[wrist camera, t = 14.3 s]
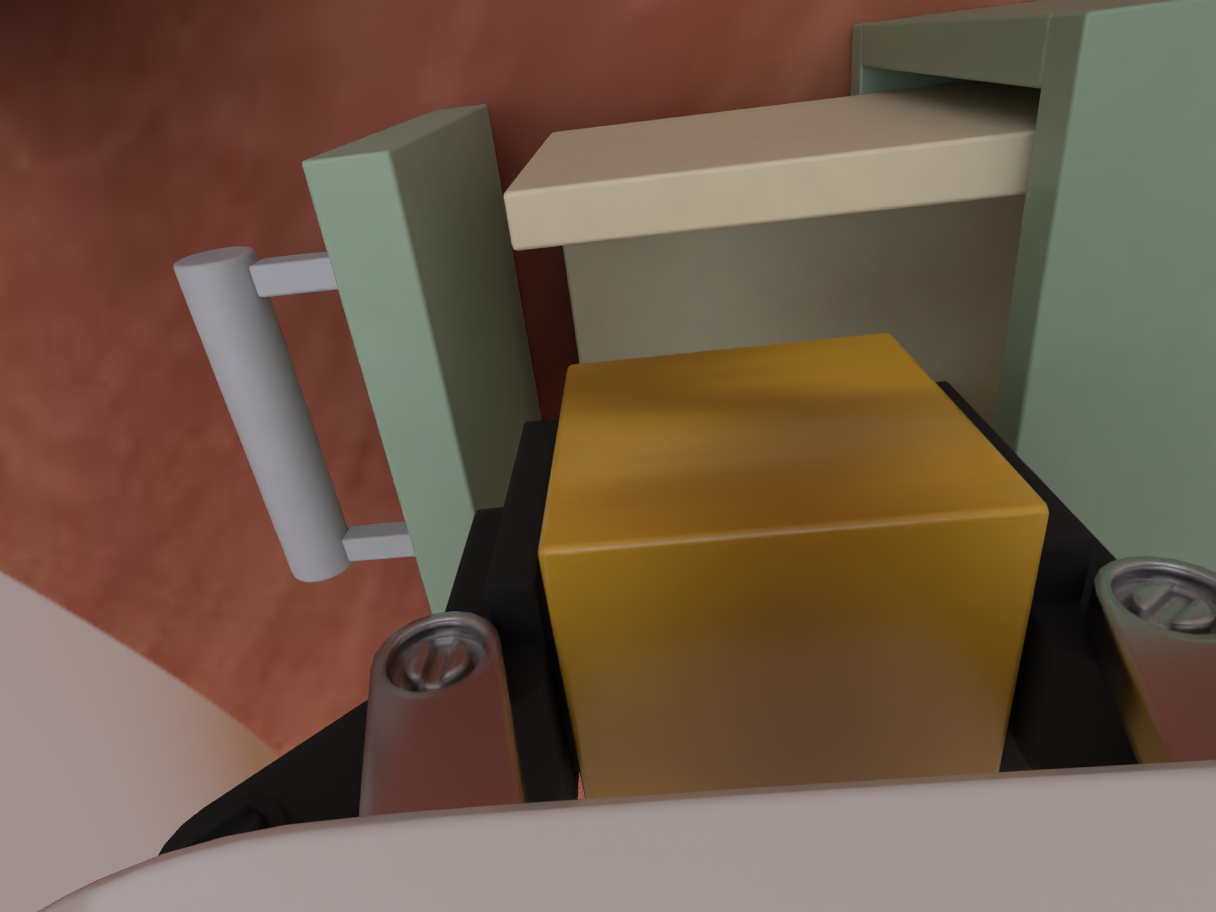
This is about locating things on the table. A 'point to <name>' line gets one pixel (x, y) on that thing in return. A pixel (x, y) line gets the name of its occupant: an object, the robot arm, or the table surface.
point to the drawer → (609, 280)
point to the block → (782, 570)
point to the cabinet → (1100, 250)
